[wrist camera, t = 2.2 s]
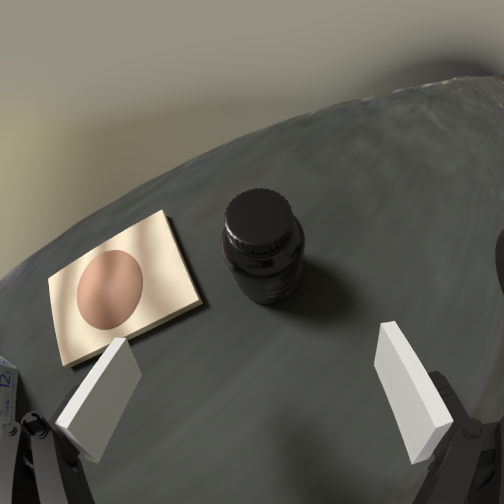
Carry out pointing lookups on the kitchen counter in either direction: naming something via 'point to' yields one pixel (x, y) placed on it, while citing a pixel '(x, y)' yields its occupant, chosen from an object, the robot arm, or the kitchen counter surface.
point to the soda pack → (7, 392)
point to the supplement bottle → (263, 245)
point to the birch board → (120, 290)
